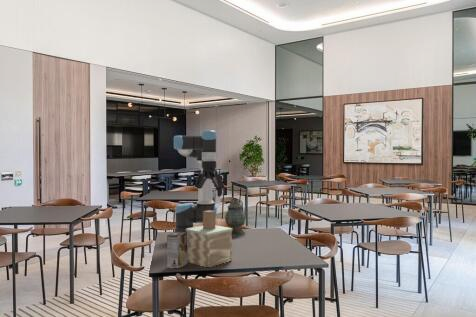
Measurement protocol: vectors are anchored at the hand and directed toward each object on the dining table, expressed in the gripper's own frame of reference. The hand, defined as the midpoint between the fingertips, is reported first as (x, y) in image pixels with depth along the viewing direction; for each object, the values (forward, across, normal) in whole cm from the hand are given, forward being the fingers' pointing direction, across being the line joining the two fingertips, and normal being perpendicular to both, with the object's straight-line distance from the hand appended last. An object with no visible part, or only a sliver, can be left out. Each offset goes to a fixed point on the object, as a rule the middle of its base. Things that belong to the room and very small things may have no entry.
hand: (209, 201), depth 188 cm
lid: (+15, 0, 0) cm, 15 cm away
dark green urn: (+31, -37, +57) cm, 75 cm away
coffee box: (+31, -6, -16) cm, 35 cm away
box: (+31, 0, 0) cm, 31 cm away
